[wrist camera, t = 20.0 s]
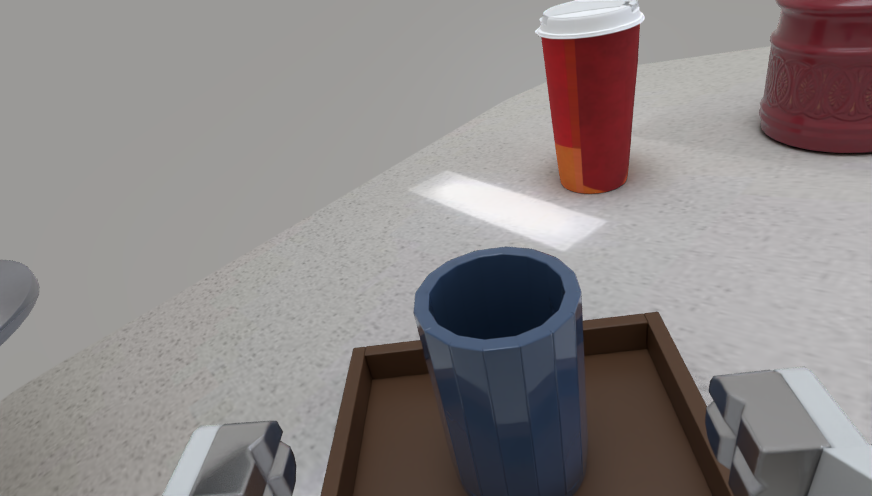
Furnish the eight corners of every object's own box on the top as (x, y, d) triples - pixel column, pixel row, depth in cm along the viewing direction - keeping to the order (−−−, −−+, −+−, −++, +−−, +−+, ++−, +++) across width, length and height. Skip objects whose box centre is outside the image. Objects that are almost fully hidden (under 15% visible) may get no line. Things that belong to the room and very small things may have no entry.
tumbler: (454, 523, 24) (408, 359, 19) (453, 409, 29) (418, 257, 24) (601, 512, 23) (597, 338, 18) (573, 397, 28) (563, 237, 23)
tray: (316, 625, 22) (297, 594, 20) (363, 377, 33) (353, 347, 32) (776, 598, 20) (787, 562, 18) (656, 344, 31) (658, 311, 30)
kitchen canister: (964, 150, 43) (1061, -113, 33) (778, 161, 46) (819, -73, 37) (889, 97, 53) (946, -115, 44) (742, 110, 57) (767, -83, 48)
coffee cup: (649, 162, 51) (655, -11, 43) (628, 204, 45) (630, 13, 37) (563, 157, 55) (553, -1, 47) (533, 195, 49) (517, 22, 41)
